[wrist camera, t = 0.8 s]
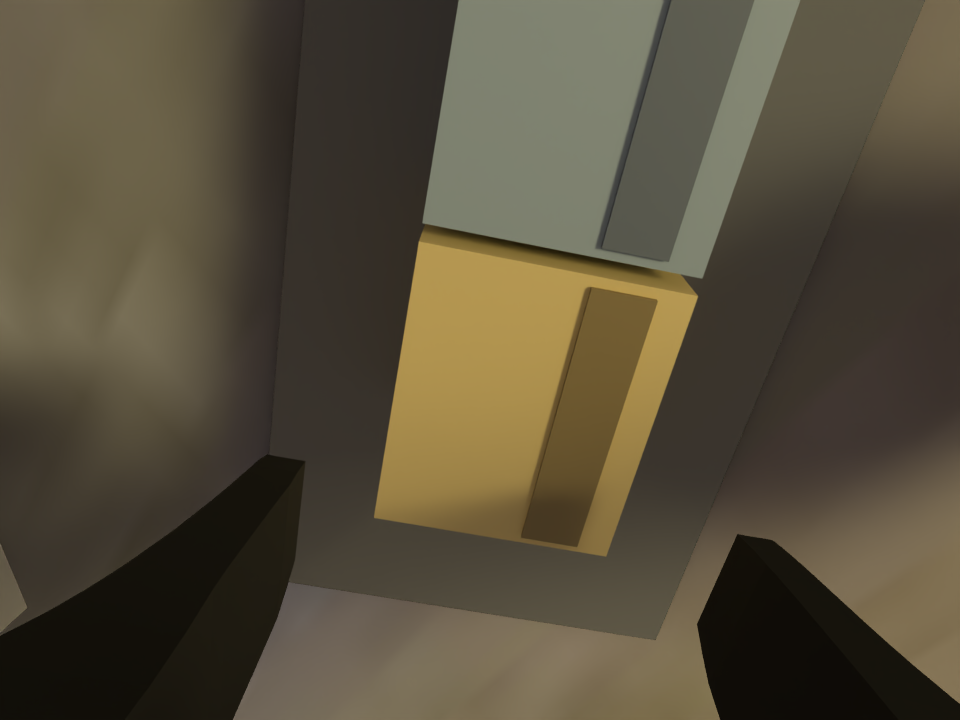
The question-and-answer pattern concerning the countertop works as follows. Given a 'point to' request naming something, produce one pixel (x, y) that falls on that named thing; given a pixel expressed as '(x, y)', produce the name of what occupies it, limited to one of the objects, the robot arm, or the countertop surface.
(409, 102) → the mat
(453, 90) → the block
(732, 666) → the robot arm
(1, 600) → the grater
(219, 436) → the countertop surface
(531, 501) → the stub
